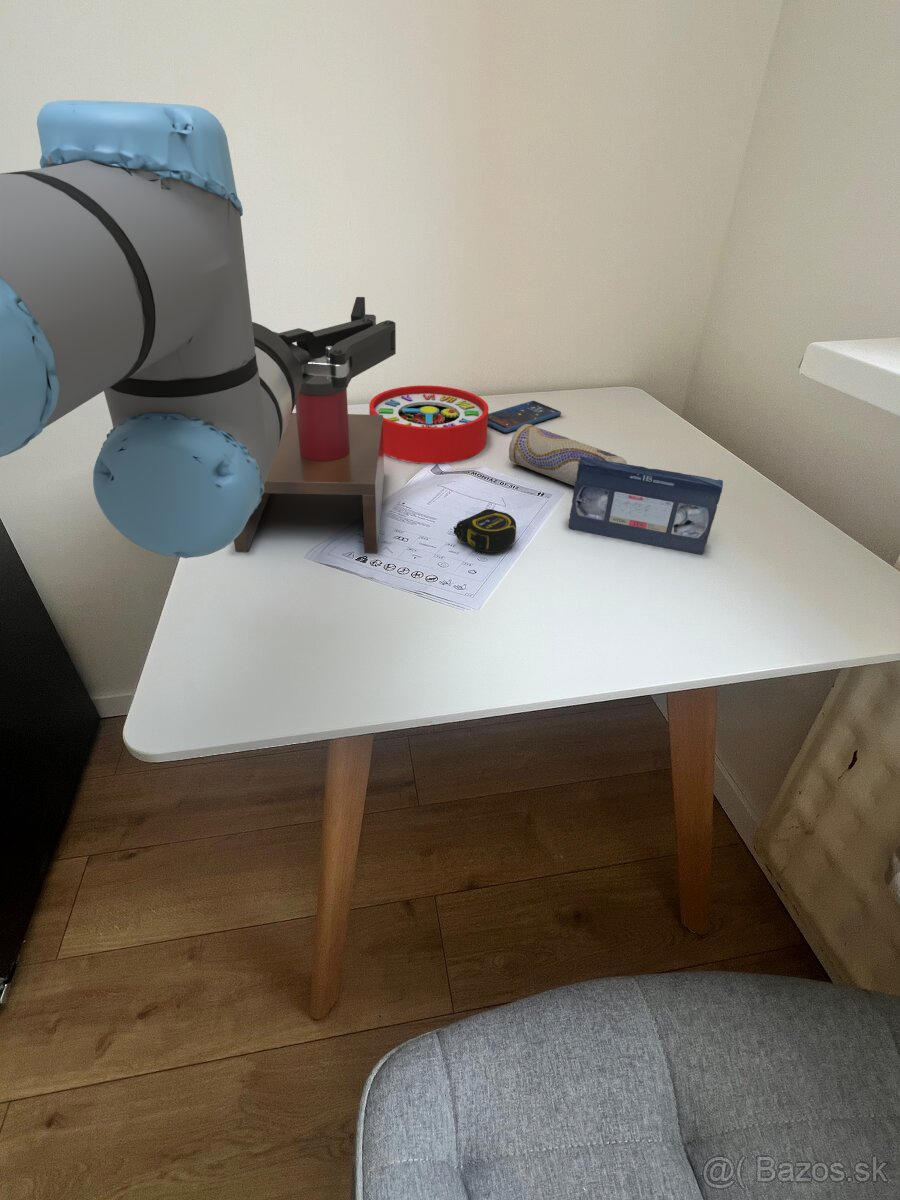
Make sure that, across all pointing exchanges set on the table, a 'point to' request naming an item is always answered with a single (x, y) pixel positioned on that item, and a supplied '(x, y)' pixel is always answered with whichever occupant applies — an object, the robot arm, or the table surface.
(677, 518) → the vhs cassette tape
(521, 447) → the decorative bottle
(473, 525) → the tape measure
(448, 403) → the toy clock
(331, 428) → the canister
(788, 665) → the table surface
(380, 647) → the table surface
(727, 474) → the table surface
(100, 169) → the robot arm
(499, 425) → the smartphone
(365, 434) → the shelf
